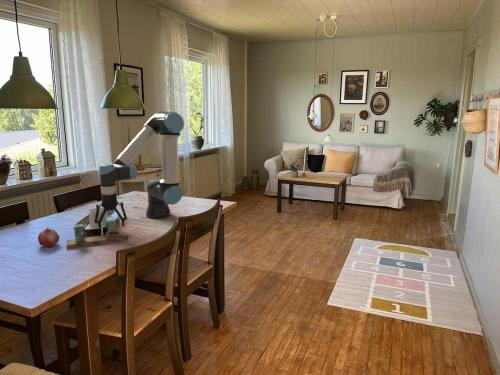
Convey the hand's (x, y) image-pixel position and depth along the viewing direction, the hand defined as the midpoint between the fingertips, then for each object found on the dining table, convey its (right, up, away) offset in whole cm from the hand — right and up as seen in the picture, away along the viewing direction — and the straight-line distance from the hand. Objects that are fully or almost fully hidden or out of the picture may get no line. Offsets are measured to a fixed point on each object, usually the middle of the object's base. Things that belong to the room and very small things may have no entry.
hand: (112, 233), depth 200 cm
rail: (-3, -3, -12) cm, 13 cm away
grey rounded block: (-10, +2, +10) cm, 14 cm away
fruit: (-25, -4, -17) cm, 30 cm away
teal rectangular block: (0, 0, 0) cm, 0 cm away
